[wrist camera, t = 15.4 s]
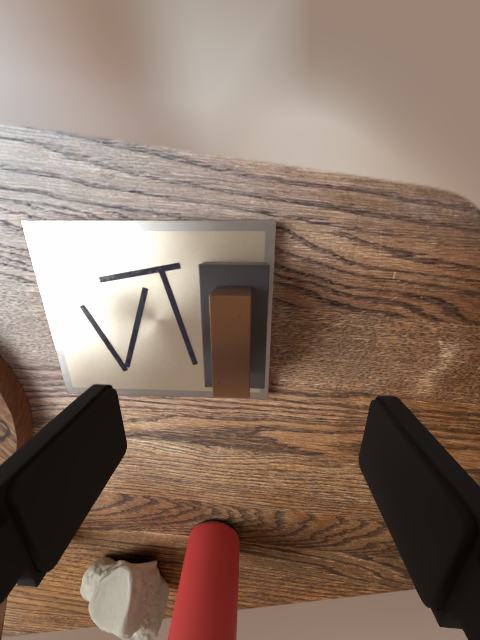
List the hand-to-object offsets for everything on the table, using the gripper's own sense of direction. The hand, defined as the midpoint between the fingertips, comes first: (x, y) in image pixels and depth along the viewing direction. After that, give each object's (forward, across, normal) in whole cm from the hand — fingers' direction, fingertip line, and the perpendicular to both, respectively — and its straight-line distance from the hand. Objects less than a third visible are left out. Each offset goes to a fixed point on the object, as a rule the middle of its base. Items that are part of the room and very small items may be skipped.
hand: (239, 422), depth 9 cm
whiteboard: (+13, +8, 0) cm, 15 cm away
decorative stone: (+13, +16, +38) cm, 43 cm away
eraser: (+12, +1, 0) cm, 12 cm away
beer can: (+13, +4, +30) cm, 33 cm away
